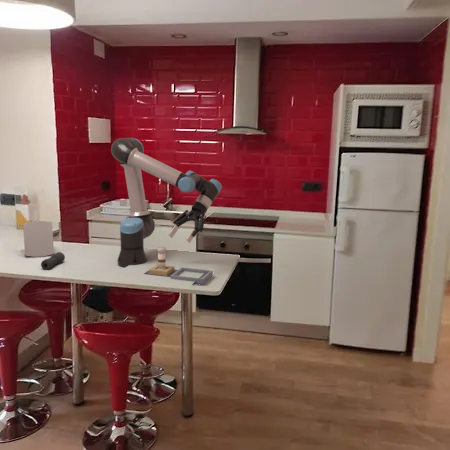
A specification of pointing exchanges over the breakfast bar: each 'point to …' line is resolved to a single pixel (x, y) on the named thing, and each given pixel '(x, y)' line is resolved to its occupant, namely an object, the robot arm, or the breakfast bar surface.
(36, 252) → the electrical switch box
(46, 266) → the flashlight
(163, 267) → the fuse
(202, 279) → the grey rectangular frame
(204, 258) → the breakfast bar surface
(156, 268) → the yellow rectangular tray
